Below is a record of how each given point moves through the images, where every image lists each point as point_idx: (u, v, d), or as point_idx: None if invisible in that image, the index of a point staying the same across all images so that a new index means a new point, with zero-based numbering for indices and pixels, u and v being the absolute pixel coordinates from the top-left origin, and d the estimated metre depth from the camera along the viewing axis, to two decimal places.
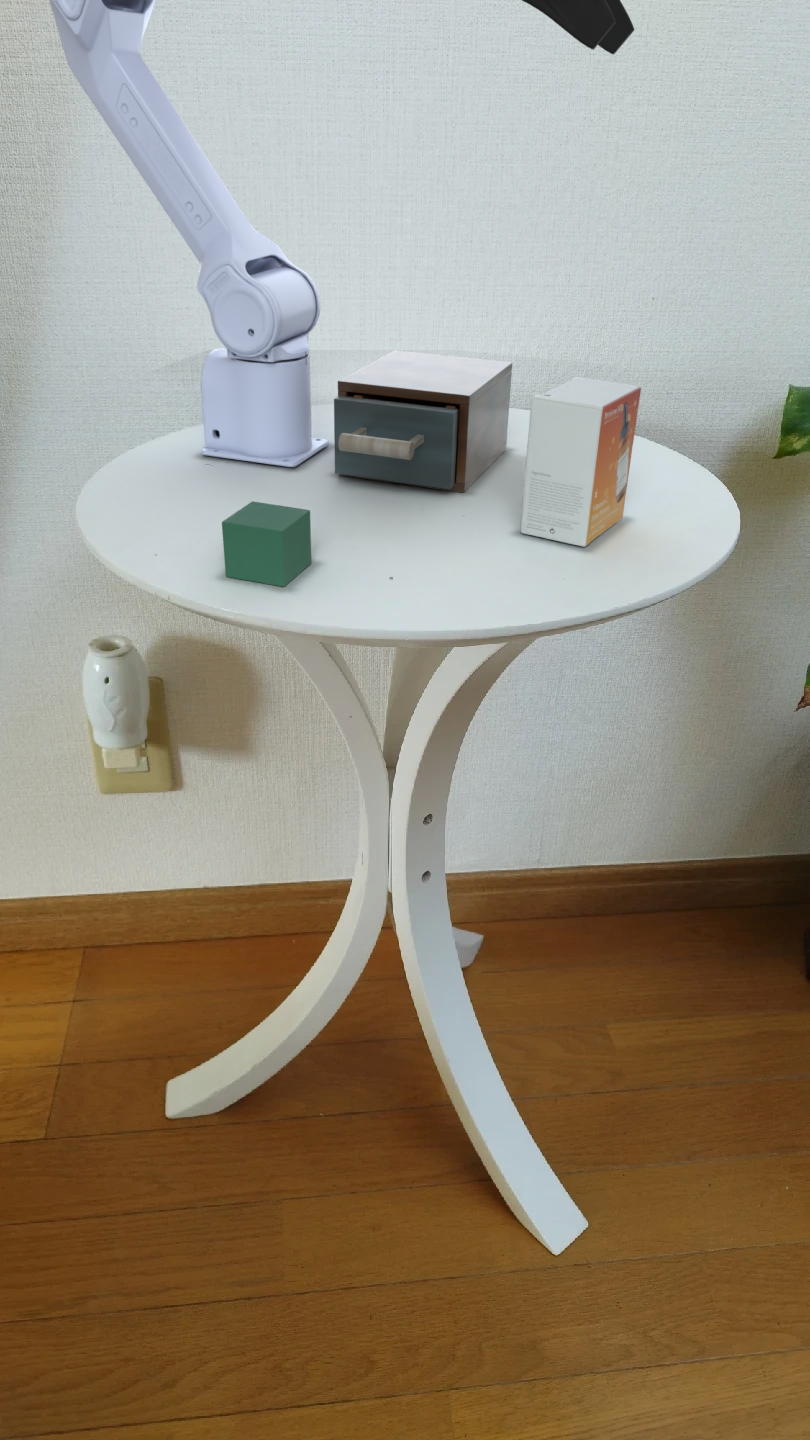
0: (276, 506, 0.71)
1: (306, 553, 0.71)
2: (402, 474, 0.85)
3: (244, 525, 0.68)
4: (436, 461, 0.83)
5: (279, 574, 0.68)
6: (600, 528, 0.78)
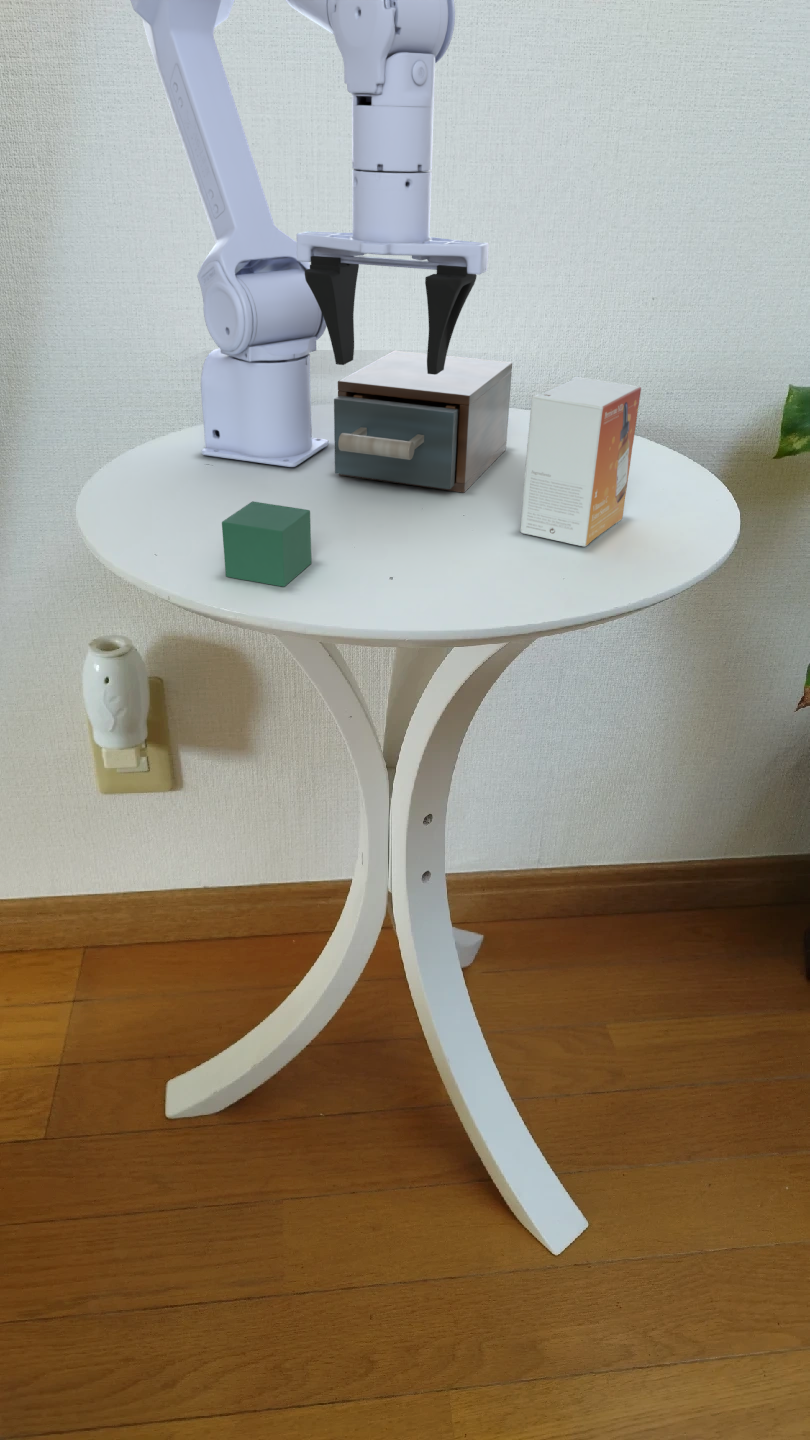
0: (276, 506, 0.71)
1: (306, 553, 0.71)
2: (402, 474, 0.85)
3: (244, 525, 0.68)
4: (436, 461, 0.83)
5: (279, 574, 0.68)
6: (600, 528, 0.78)
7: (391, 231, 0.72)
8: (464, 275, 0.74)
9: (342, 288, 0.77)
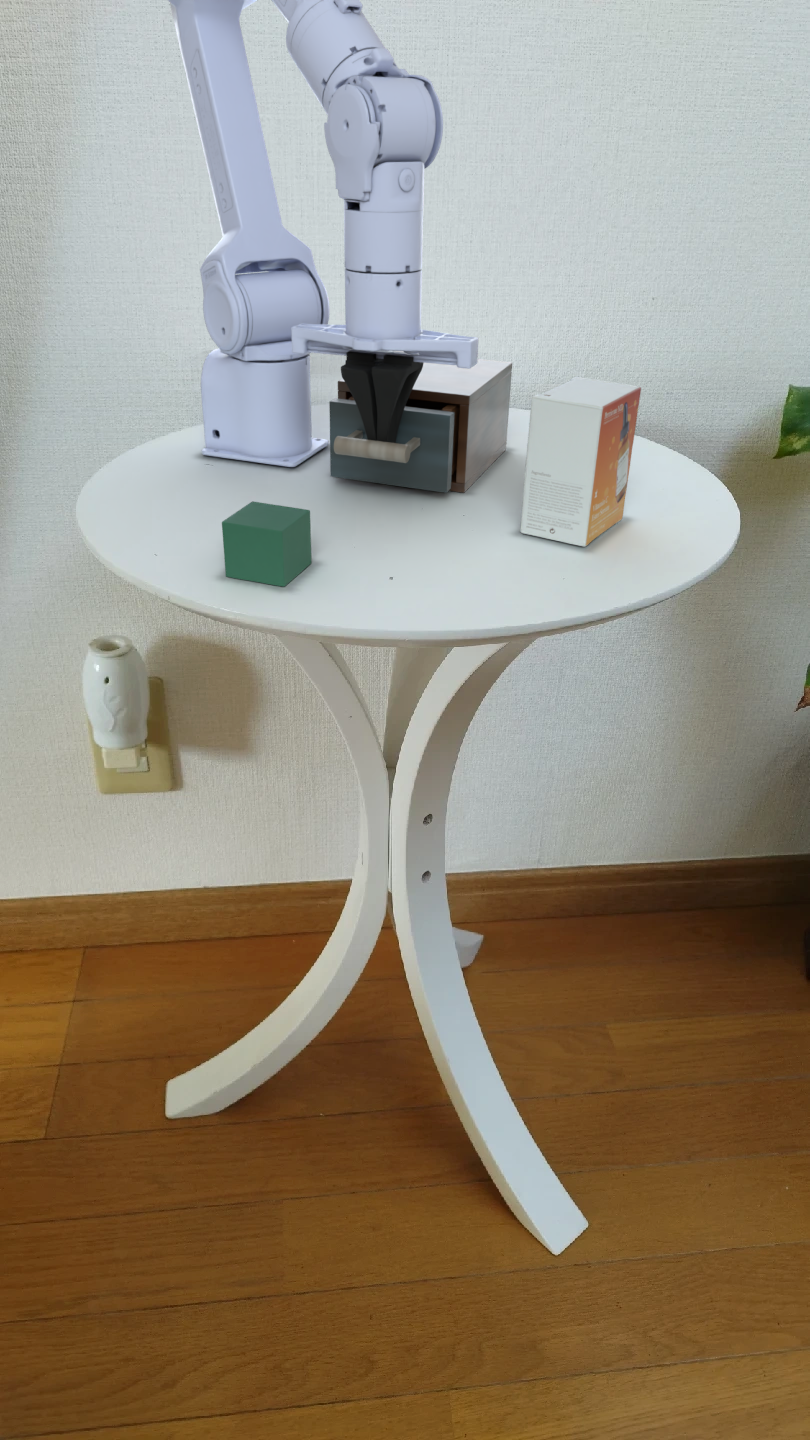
0: (276, 506, 0.71)
1: (306, 553, 0.71)
2: (398, 478, 0.84)
3: (244, 525, 0.68)
4: (432, 464, 0.83)
5: (279, 574, 0.68)
6: (600, 528, 0.78)
7: (383, 328, 0.74)
8: (409, 365, 0.76)
9: None
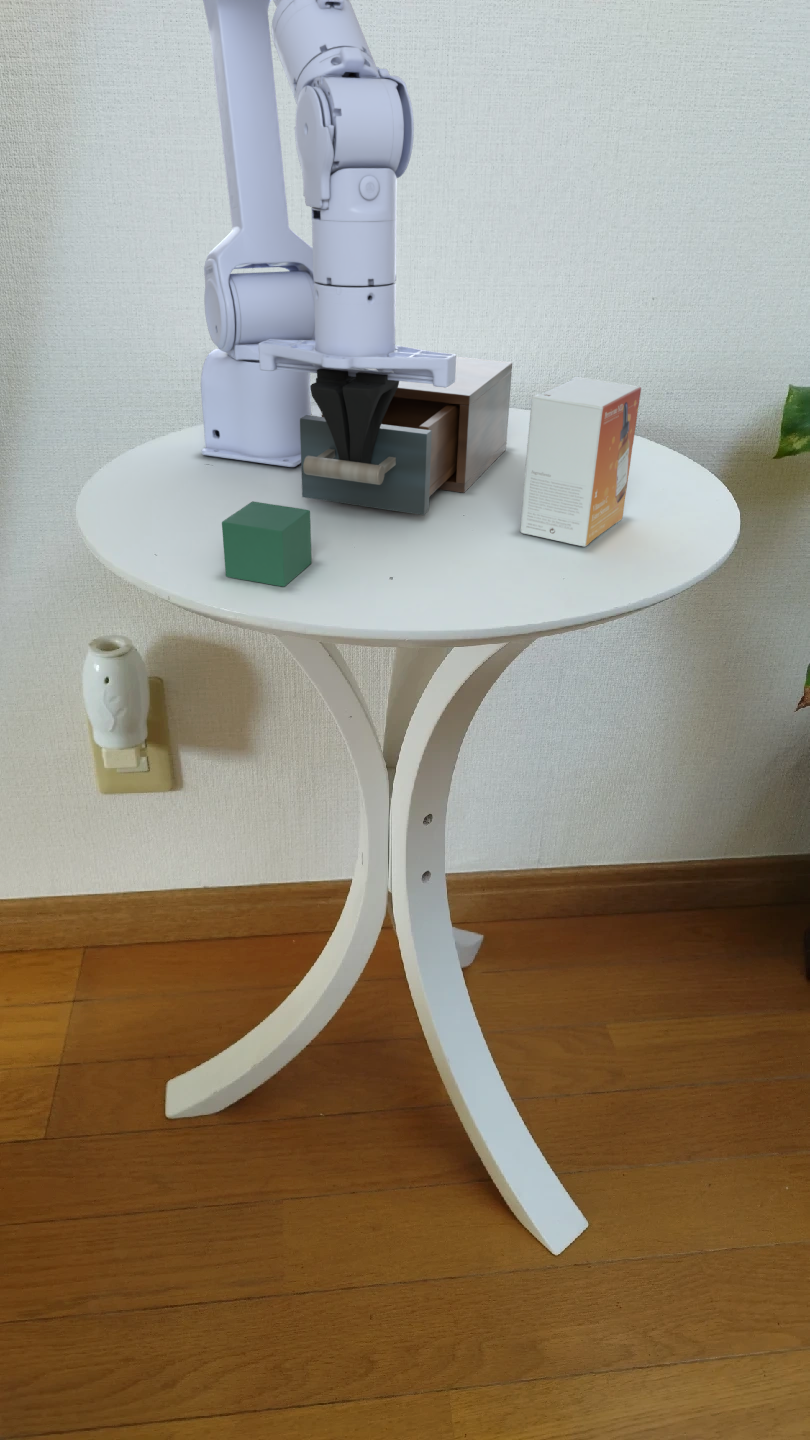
0: (276, 506, 0.71)
1: (306, 553, 0.71)
2: (373, 499, 0.80)
3: (244, 525, 0.68)
4: (409, 485, 0.78)
5: (279, 574, 0.68)
6: (600, 528, 0.78)
7: (354, 345, 0.70)
8: (383, 383, 0.72)
9: None
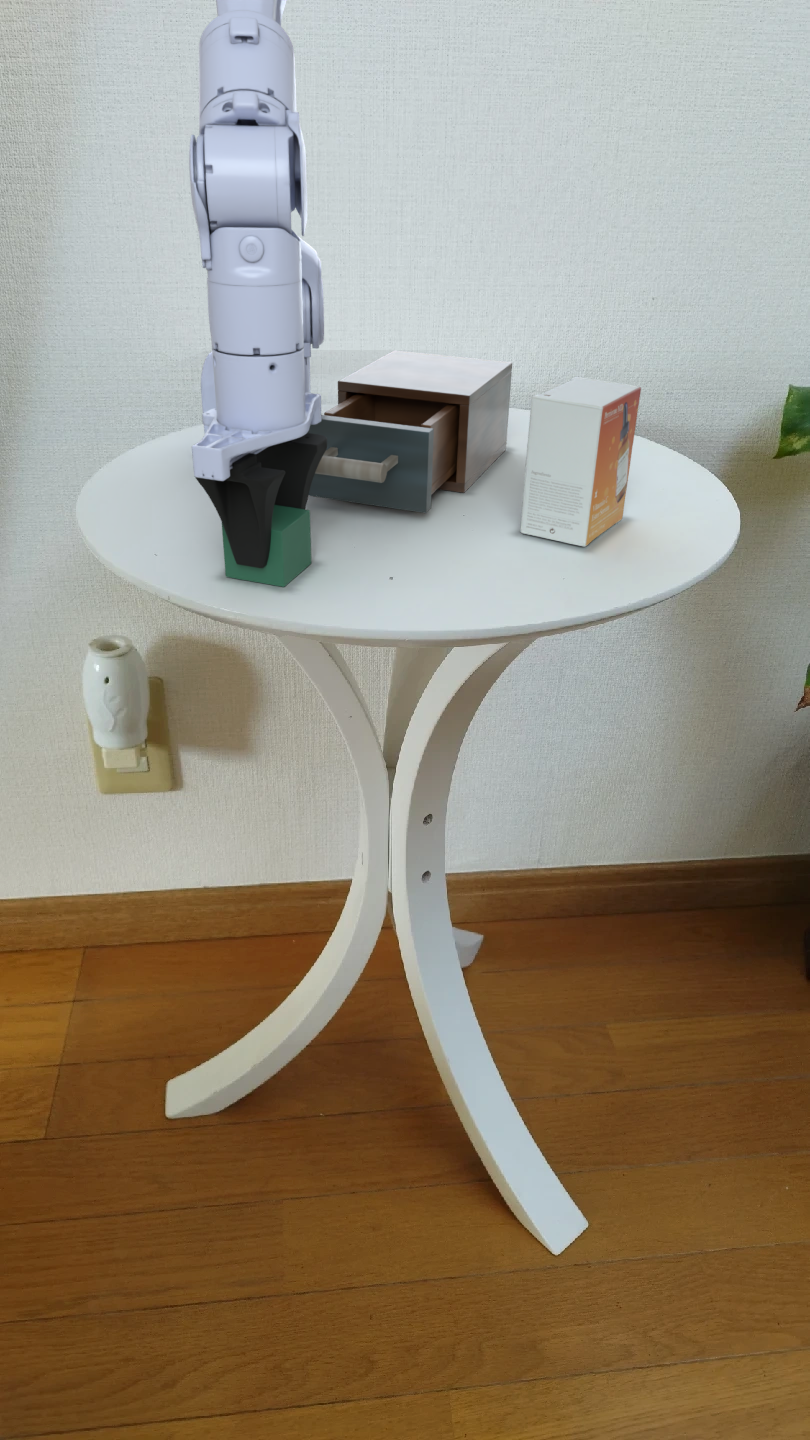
0: (276, 506, 0.71)
1: (306, 553, 0.71)
2: (376, 497, 0.80)
3: None
4: (411, 483, 0.78)
5: (279, 575, 0.68)
6: (600, 528, 0.78)
7: None
8: None
9: (272, 462, 0.70)
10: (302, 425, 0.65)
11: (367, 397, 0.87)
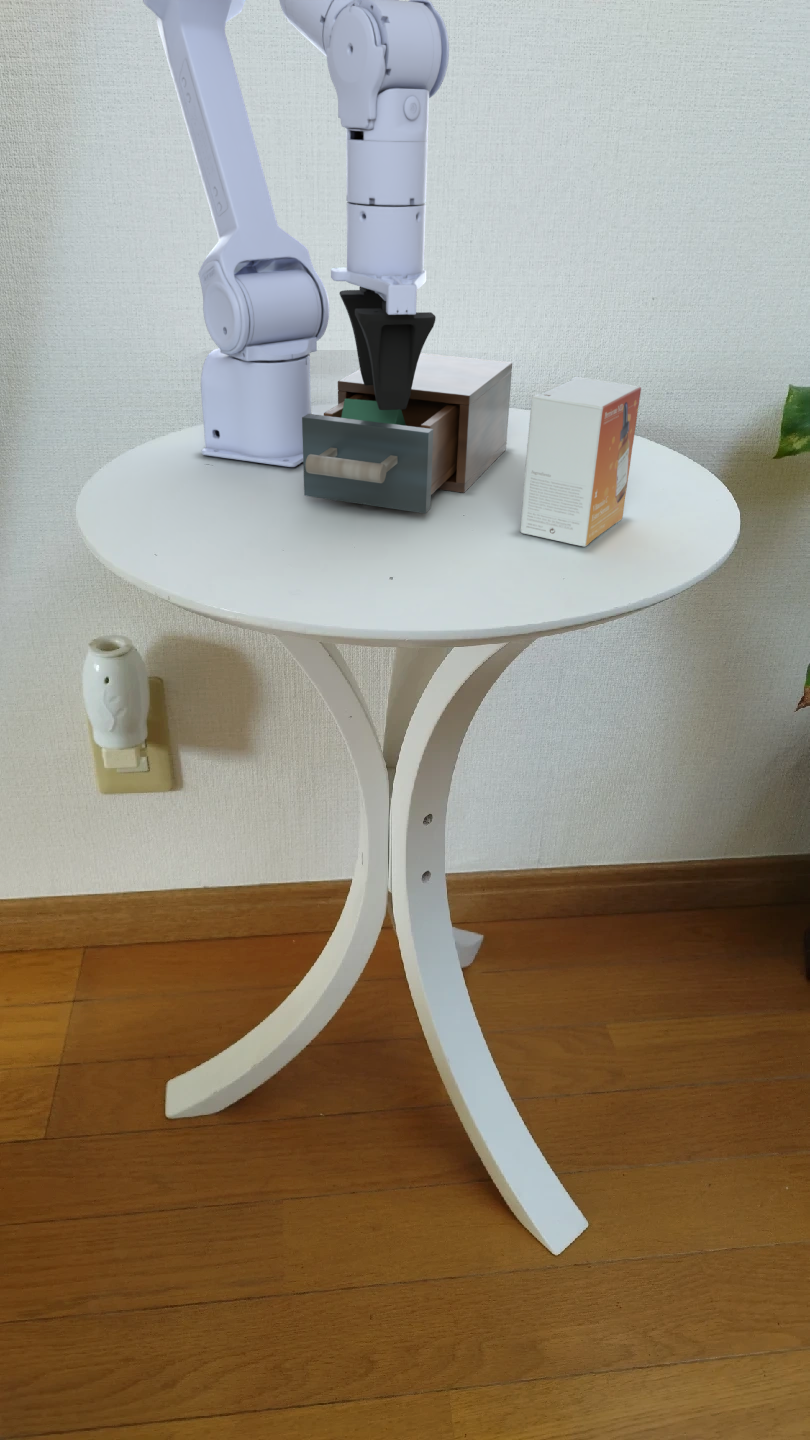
0: None
1: None
2: (375, 497, 0.80)
3: (365, 400, 0.81)
4: (410, 483, 0.78)
5: None
6: (600, 528, 0.78)
7: (351, 260, 0.74)
8: (386, 313, 0.71)
9: None
10: (426, 271, 0.75)
11: (366, 397, 0.87)
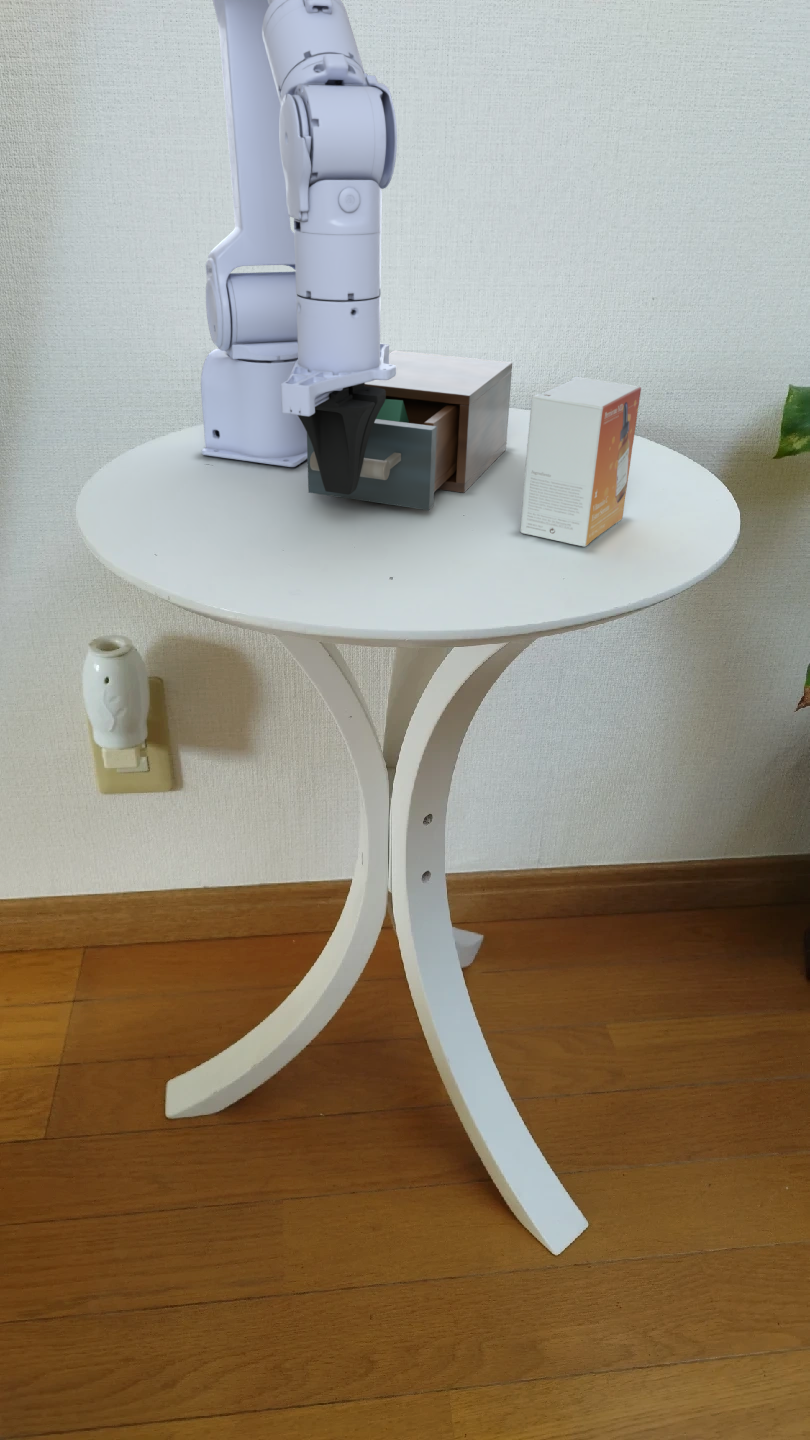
0: None
1: None
2: (379, 494, 0.80)
3: None
4: (414, 480, 0.79)
5: None
6: (600, 528, 0.78)
7: None
8: None
9: None
10: None
11: None
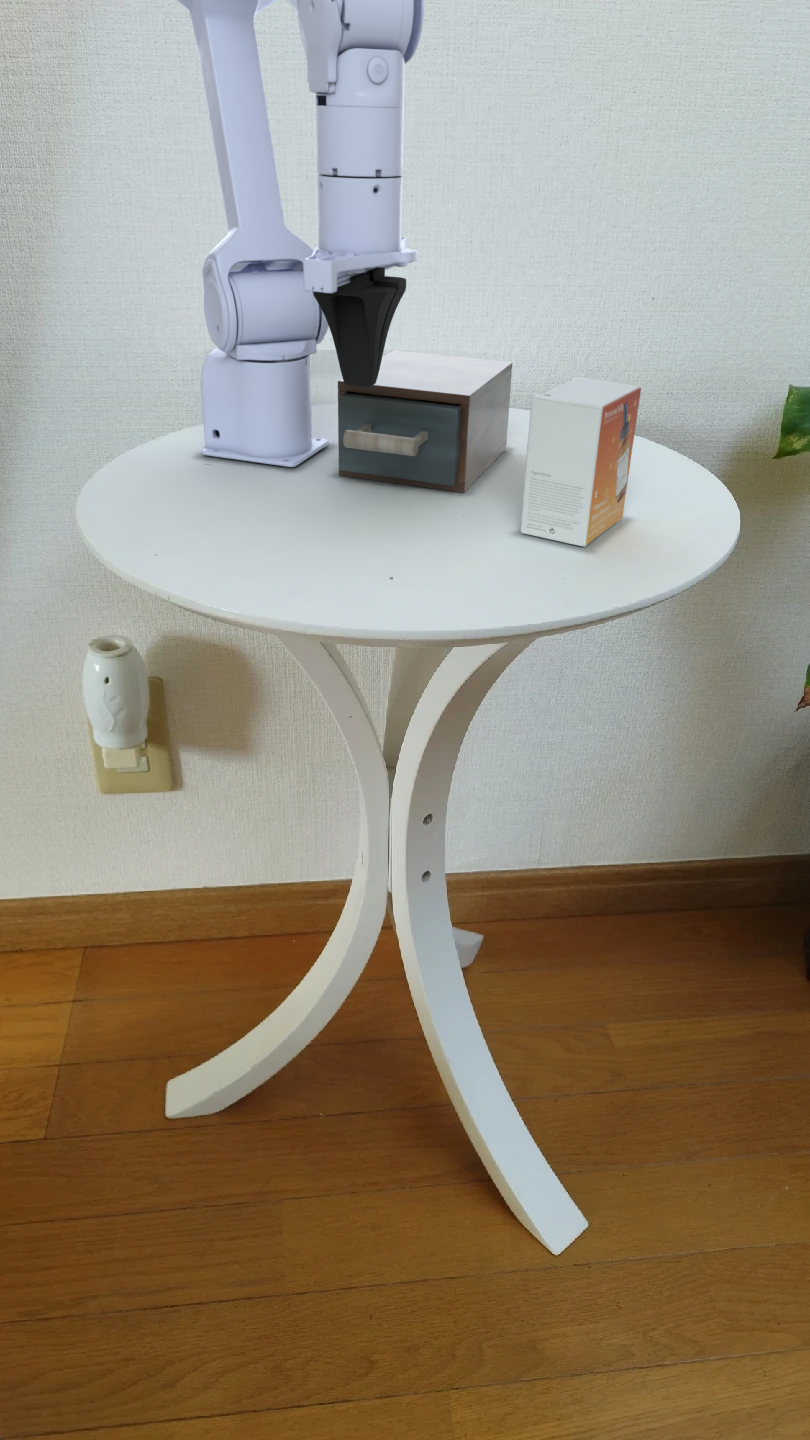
0: None
1: None
2: (406, 471, 0.86)
3: None
4: (440, 457, 0.84)
5: None
6: (600, 528, 0.78)
7: None
8: None
9: None
10: None
11: None
